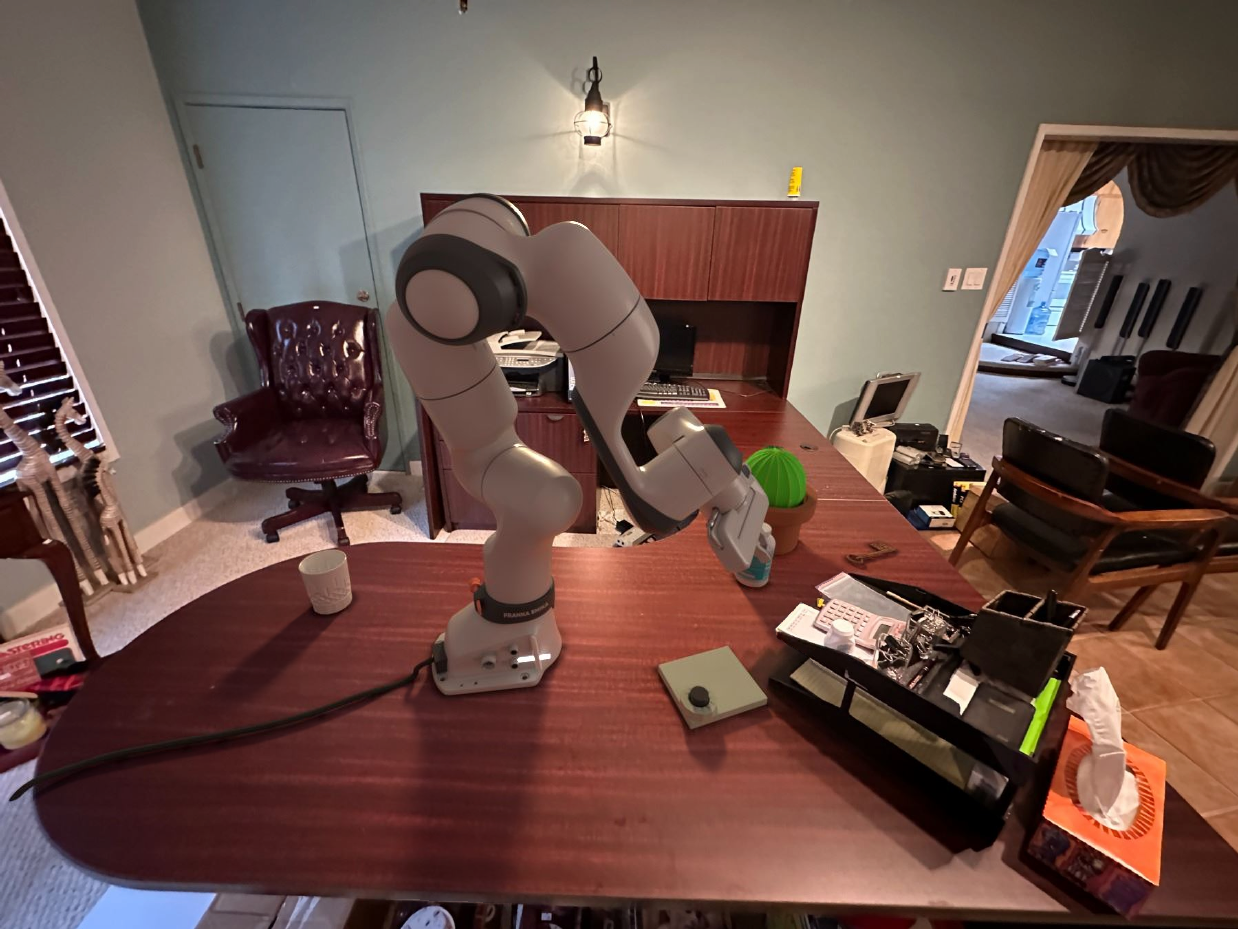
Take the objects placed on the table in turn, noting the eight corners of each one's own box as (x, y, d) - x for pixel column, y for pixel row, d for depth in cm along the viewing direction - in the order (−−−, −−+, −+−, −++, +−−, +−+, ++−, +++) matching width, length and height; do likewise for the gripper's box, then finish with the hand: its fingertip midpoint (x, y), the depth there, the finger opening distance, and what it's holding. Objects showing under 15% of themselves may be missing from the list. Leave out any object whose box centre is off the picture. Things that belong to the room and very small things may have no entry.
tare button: (695, 710, 76) (696, 702, 75) (686, 695, 78) (687, 688, 78) (711, 705, 77) (712, 697, 76) (702, 690, 79) (703, 683, 78)
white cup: (364, 597, 99) (355, 556, 95) (328, 622, 93) (317, 579, 89) (337, 585, 102) (327, 545, 98) (300, 608, 96) (288, 566, 92)
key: (881, 543, 127) (837, 554, 121) (882, 540, 126) (837, 551, 121) (901, 554, 122) (856, 566, 116) (902, 551, 121) (857, 562, 116)
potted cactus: (796, 573, 113) (819, 474, 103) (705, 543, 123) (718, 450, 112) (813, 530, 131) (834, 442, 120) (733, 507, 140) (746, 424, 130)
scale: (689, 732, 75) (691, 718, 74) (655, 671, 86) (656, 658, 84) (767, 706, 80) (770, 692, 79) (726, 651, 90) (728, 638, 89)
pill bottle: (768, 591, 107) (779, 538, 101) (734, 586, 108) (743, 533, 102) (766, 571, 113) (776, 520, 108) (733, 566, 115) (742, 515, 109)
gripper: (721, 521, 71) (775, 593, 73) (748, 458, 87) (792, 518, 89) (687, 536, 74) (739, 604, 76) (719, 473, 91) (762, 530, 93)
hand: (768, 557), depth 83 cm, fingers closed
